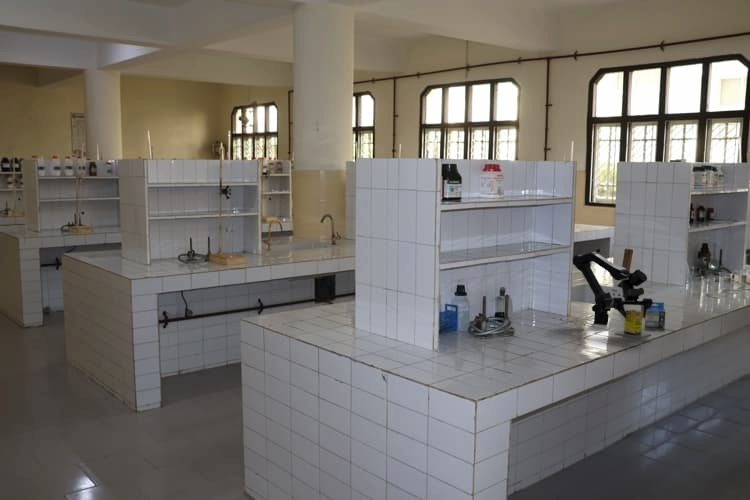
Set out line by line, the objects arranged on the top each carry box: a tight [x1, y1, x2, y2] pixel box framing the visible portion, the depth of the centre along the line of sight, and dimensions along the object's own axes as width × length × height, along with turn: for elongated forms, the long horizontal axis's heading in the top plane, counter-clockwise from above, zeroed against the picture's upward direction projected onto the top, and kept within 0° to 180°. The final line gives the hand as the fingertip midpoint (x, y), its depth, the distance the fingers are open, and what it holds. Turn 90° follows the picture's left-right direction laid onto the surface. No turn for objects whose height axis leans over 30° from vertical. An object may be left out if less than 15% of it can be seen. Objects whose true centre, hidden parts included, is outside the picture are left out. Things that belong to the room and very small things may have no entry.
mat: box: [614, 330, 652, 340], centre depth 325 cm, size 12×12×1 cm
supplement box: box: [623, 309, 643, 335], centre depth 325 cm, size 6×6×11 cm
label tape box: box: [644, 301, 666, 328], centre depth 342 cm, size 9×4×12 cm, turn 82°
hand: (635, 318), depth 323 cm, fingers open, 9 cm apart
